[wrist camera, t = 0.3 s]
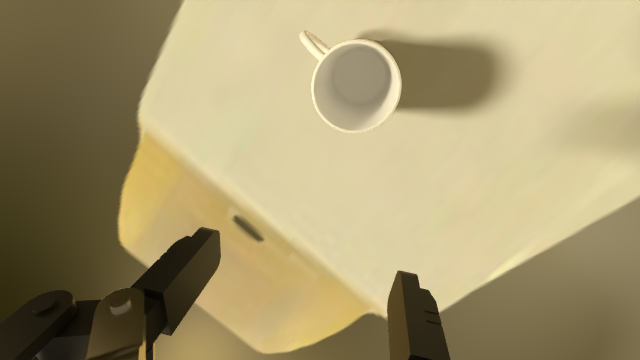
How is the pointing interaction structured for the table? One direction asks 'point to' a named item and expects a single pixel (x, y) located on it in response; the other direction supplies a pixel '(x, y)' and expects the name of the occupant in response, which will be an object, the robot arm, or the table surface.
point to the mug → (353, 83)
